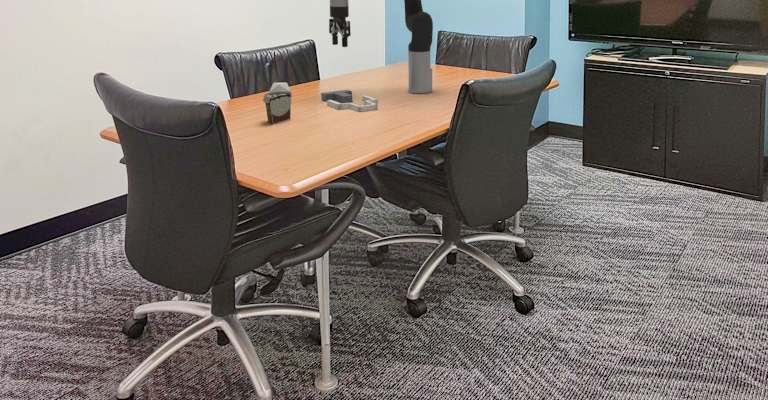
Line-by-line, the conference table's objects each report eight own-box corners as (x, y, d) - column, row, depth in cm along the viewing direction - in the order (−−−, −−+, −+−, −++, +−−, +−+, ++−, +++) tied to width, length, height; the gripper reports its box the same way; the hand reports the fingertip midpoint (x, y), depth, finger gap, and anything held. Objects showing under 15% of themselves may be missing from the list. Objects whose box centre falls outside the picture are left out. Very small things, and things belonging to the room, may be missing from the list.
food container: (280, 116, 280) (278, 89, 277) (293, 118, 277) (291, 91, 274) (257, 123, 271) (255, 95, 267) (270, 125, 267) (268, 97, 264)
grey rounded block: (282, 107, 298) (295, 86, 299) (262, 96, 299) (275, 74, 299) (285, 111, 307) (297, 89, 307) (265, 99, 307) (278, 78, 307)
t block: (347, 96, 314) (347, 89, 313) (361, 101, 304) (361, 94, 303) (321, 100, 308) (321, 92, 307) (334, 105, 298) (334, 97, 297)
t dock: (365, 100, 306) (365, 95, 305) (387, 108, 291) (387, 102, 290) (327, 105, 298) (327, 100, 297) (348, 113, 283) (348, 108, 283)
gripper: (355, 5, 301) (356, 47, 306) (339, 3, 312) (340, 43, 317) (339, 6, 297) (339, 48, 302) (322, 4, 309) (323, 44, 314)
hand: (339, 45), depth 310 cm, fingers open, 8 cm apart
